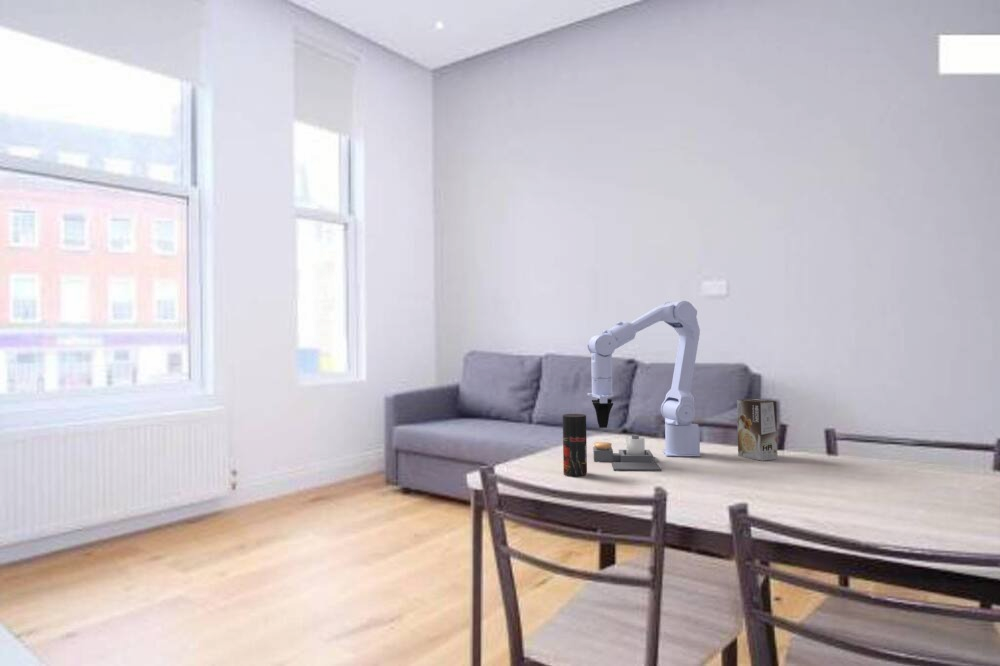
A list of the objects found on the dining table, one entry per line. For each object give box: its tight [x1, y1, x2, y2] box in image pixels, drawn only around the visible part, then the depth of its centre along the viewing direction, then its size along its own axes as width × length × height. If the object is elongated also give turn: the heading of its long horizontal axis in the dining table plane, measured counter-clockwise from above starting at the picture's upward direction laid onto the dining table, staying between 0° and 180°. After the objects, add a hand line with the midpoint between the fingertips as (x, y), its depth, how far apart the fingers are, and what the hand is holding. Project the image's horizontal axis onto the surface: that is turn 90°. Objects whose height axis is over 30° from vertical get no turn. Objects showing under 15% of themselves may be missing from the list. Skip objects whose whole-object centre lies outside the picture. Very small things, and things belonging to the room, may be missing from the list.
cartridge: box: [625, 434, 646, 455], centre depth 184 cm, size 5×5×7 cm
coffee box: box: [736, 397, 779, 462], centre depth 185 cm, size 9×6×16 cm
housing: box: [592, 446, 654, 463], centre depth 185 cm, size 16×9×3 cm, turn 84°
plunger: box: [593, 441, 613, 450], centre depth 185 cm, size 5×5×4 cm
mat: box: [611, 461, 662, 472], centre depth 174 cm, size 12×8×1 cm, turn 84°
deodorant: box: [562, 413, 588, 478], centre depth 168 cm, size 6×6×15 cm
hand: (602, 426), depth 185 cm, fingers open, 4 cm apart
